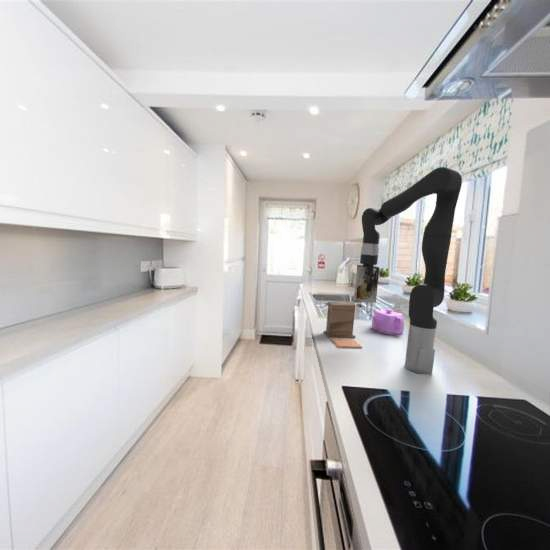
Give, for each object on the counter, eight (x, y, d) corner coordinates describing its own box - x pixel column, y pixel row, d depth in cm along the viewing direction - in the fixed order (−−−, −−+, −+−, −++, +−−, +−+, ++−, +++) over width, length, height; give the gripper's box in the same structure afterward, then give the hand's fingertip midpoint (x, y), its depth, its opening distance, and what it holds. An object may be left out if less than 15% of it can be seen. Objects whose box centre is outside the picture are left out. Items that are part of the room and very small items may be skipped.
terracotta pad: (361, 348, 136) (362, 346, 136) (338, 347, 135) (338, 346, 135) (352, 340, 147) (352, 338, 147) (331, 339, 146) (331, 338, 146)
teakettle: (403, 337, 158) (406, 314, 156) (369, 332, 164) (371, 310, 163) (403, 330, 173) (405, 308, 172) (372, 325, 180) (374, 304, 178)
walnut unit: (354, 338, 151) (358, 305, 149) (327, 337, 149) (330, 304, 147) (349, 333, 159) (352, 302, 157) (323, 332, 157) (326, 301, 155)
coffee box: (373, 300, 141) (377, 266, 139) (376, 303, 135) (380, 267, 133) (353, 298, 142) (356, 264, 140) (355, 301, 136) (359, 265, 134)
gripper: (355, 252, 142) (352, 286, 144) (368, 254, 128) (363, 292, 130) (370, 253, 143) (367, 287, 145) (384, 255, 129) (380, 293, 131)
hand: (365, 289), depth 138 cm, fingers closed on coffee box, 7 cm apart
